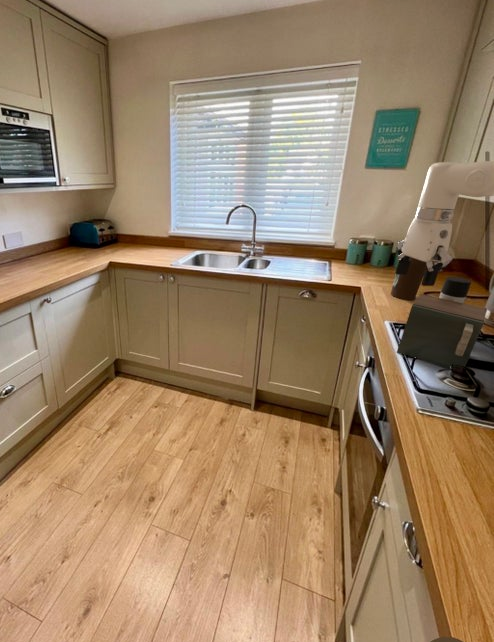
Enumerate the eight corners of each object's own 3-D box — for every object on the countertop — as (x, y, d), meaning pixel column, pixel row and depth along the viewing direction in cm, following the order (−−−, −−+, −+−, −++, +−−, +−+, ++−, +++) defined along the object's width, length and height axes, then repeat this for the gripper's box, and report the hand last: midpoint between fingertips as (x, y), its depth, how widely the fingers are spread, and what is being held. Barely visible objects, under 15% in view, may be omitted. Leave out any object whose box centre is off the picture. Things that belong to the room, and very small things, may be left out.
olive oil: (416, 295, 150) (434, 240, 140) (416, 302, 141) (435, 245, 132) (389, 290, 155) (405, 237, 145) (388, 297, 147) (404, 241, 137)
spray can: (453, 340, 110) (476, 284, 102) (429, 336, 112) (450, 280, 104) (446, 332, 116) (467, 277, 108) (424, 328, 118) (443, 275, 110)
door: (460, 383, 87) (483, 330, 81) (391, 360, 97) (407, 311, 91) (462, 372, 92) (484, 321, 86) (397, 351, 102) (412, 304, 96)
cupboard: (462, 372, 92) (484, 320, 86) (397, 351, 102) (413, 303, 96) (465, 356, 101) (485, 308, 94) (405, 338, 110) (420, 293, 104)
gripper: (478, 220, 76) (453, 290, 82) (420, 211, 92) (403, 270, 98) (448, 220, 75) (425, 290, 82) (395, 210, 91) (380, 270, 97)
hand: (413, 279), depth 90 cm, fingers open, 9 cm apart
